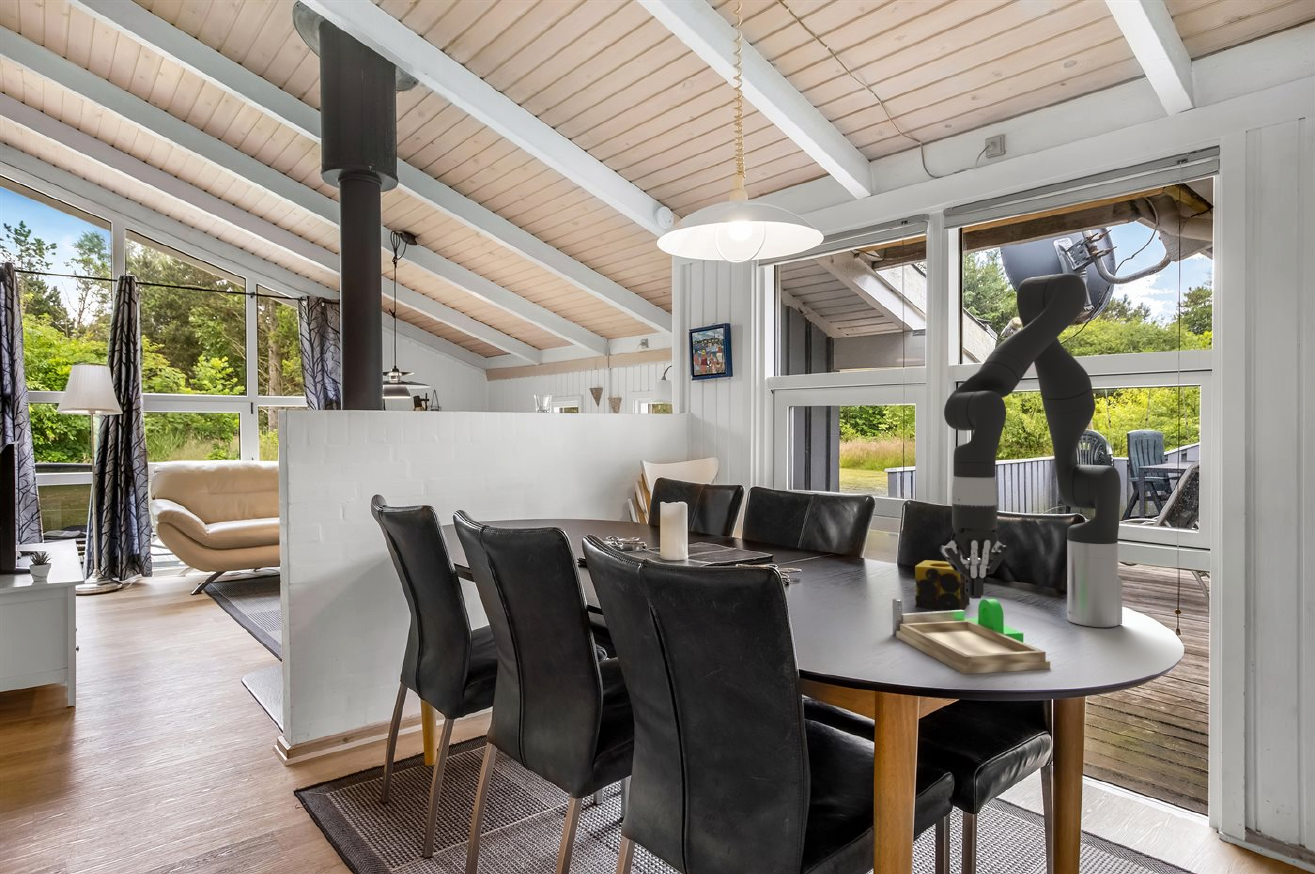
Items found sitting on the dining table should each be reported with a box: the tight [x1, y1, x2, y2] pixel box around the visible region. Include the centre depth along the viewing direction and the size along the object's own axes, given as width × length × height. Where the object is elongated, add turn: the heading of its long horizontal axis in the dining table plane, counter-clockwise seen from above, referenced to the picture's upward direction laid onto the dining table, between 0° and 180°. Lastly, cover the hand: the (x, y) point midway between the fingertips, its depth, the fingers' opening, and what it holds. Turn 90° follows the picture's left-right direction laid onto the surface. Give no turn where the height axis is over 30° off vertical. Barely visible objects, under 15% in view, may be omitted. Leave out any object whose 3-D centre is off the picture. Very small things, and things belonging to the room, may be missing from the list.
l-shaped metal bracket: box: [892, 598, 966, 637], centre depth 150 cm, size 16×2×7 cm, turn 104°
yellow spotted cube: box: [914, 559, 971, 611], centre depth 172 cm, size 10×10×10 cm
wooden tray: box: [895, 620, 1051, 675], centre depth 136 cm, size 16×23×3 cm
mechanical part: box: [965, 598, 1024, 643], centre depth 148 cm, size 12×6×8 cm, turn 6°
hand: (974, 597), depth 134 cm, fingers closed
